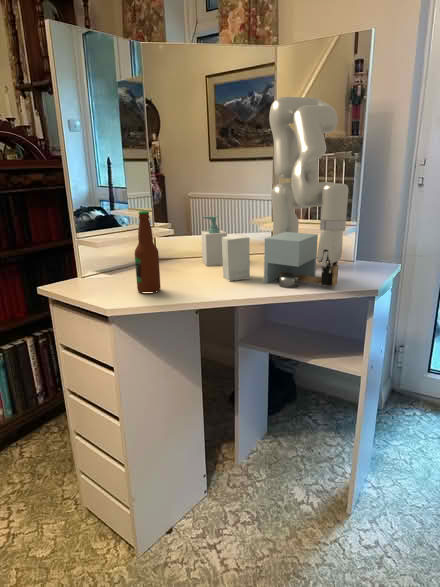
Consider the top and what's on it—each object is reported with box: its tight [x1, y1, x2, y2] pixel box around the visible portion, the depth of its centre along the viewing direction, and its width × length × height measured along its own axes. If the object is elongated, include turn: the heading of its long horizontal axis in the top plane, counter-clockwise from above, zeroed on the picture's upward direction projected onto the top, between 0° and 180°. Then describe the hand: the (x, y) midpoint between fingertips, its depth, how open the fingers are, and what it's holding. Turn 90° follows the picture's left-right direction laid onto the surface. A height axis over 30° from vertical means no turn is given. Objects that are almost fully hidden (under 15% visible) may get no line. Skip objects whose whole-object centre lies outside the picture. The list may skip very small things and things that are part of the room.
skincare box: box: [222, 234, 251, 281], centre depth 140 cm, size 8×6×15 cm
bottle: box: [134, 210, 162, 293], centre depth 126 cm, size 7×7×25 cm
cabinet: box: [263, 232, 319, 284], centre depth 137 cm, size 12×16×15 cm
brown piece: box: [279, 264, 339, 287], centre depth 132 cm, size 19×4×6 cm, turn 57°
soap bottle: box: [201, 215, 228, 267], centre depth 163 cm, size 9×9×19 cm
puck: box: [278, 274, 299, 289], centre depth 132 cm, size 6×6×3 cm
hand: (329, 282), depth 129 cm, fingers closed on brown piece, 4 cm apart
